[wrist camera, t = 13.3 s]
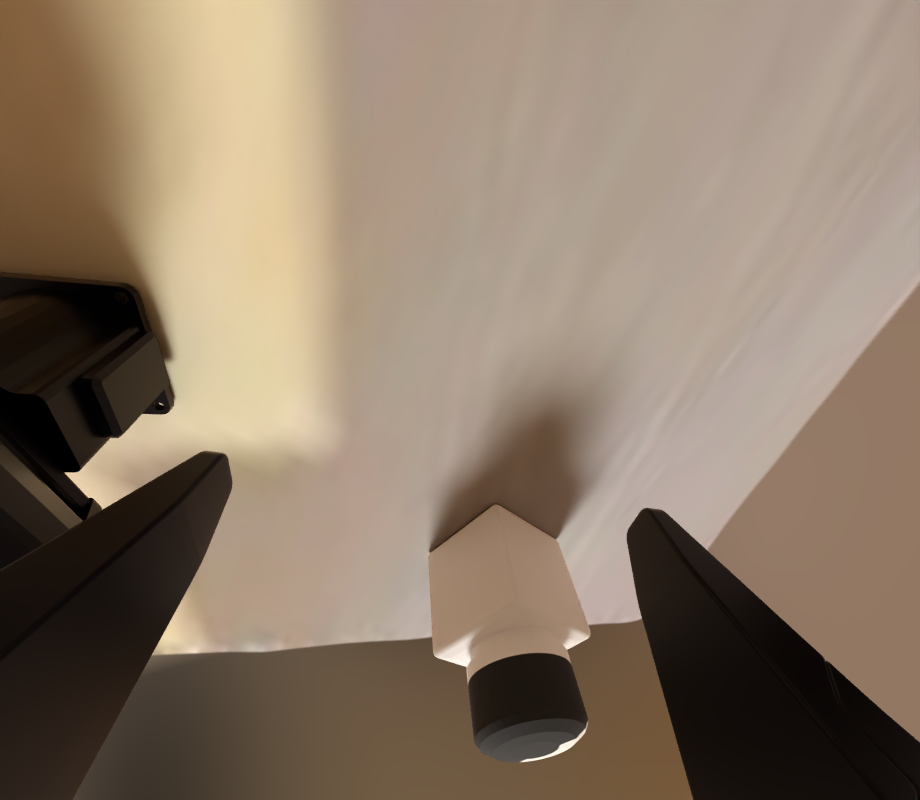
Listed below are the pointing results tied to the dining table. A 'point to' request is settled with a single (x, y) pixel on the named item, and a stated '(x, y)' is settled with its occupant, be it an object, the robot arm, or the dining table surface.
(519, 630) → the medicine bottle
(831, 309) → the dining table surface
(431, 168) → the dining table surface
